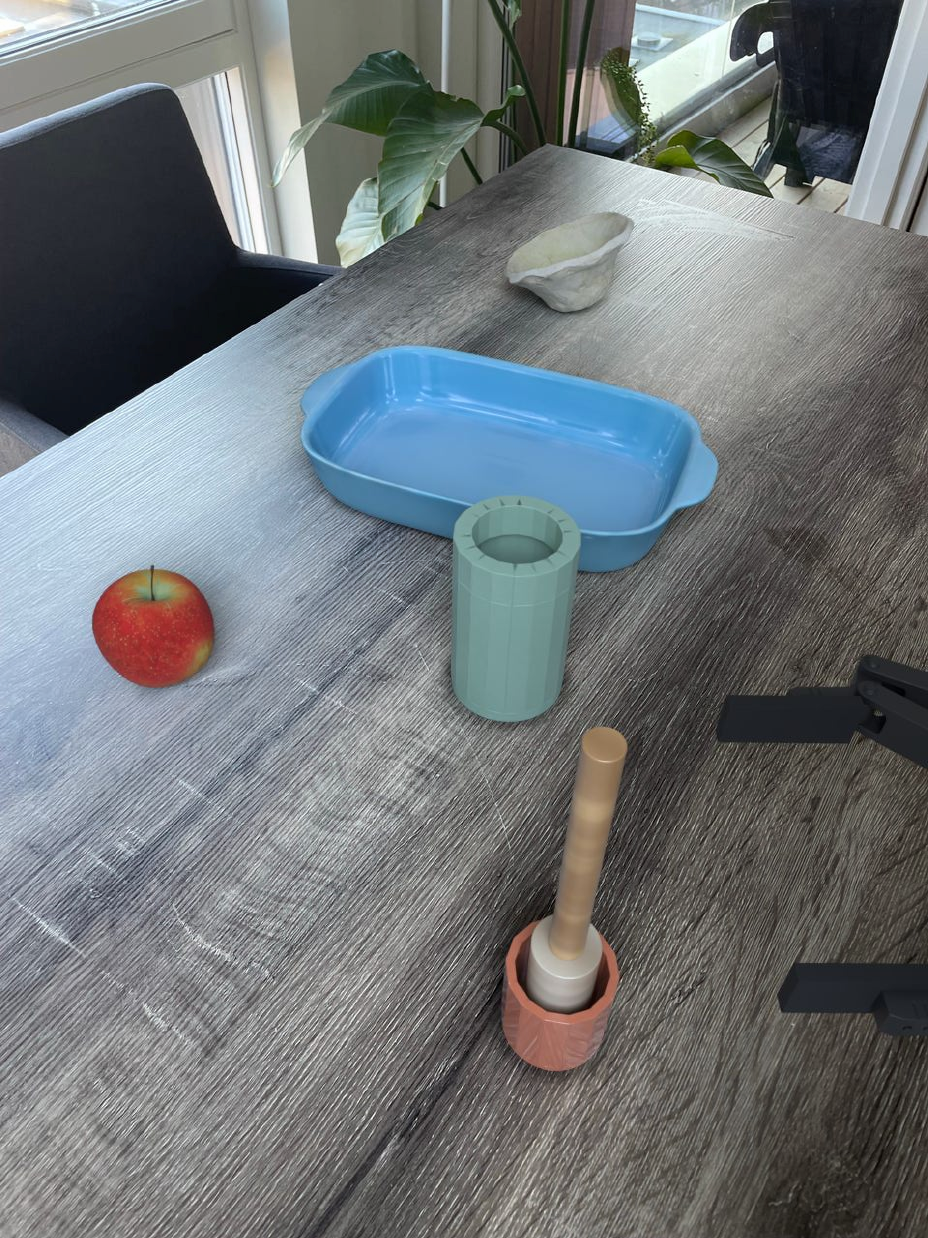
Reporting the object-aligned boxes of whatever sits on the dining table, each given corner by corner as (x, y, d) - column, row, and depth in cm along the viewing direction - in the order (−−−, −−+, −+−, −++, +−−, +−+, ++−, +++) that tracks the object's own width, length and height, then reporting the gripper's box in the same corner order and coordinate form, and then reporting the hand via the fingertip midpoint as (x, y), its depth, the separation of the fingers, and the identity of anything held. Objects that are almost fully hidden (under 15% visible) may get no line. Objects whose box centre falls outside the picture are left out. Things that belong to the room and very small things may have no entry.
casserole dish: (723, 469, 94) (739, 403, 89) (674, 624, 79) (690, 555, 74) (365, 389, 103) (361, 325, 98) (259, 515, 87) (248, 447, 82)
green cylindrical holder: (524, 740, 70) (538, 594, 60) (428, 689, 73) (427, 542, 64) (582, 670, 75) (604, 525, 65) (490, 625, 78) (498, 480, 68)
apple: (101, 650, 75) (67, 549, 68) (207, 621, 78) (185, 520, 71) (121, 726, 70) (87, 625, 63) (234, 692, 73) (213, 591, 66)
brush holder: (572, 1094, 53) (584, 1047, 49) (480, 1030, 55) (483, 980, 51) (624, 1006, 56) (639, 956, 52) (535, 950, 59) (542, 897, 55)
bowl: (524, 266, 124) (529, 183, 117) (635, 285, 121) (647, 202, 114) (485, 320, 114) (488, 233, 107) (605, 343, 110) (616, 255, 103)
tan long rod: (565, 1060, 54) (623, 797, 37) (508, 1022, 55) (540, 752, 38) (597, 1007, 56) (667, 735, 39) (542, 971, 57) (586, 695, 41)
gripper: (1356, 1182, 38) (798, 1179, 37) (1069, 687, 56) (689, 683, 55) (1505, 1108, 32) (856, 1104, 32) (1135, 588, 50) (715, 583, 50)
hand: (749, 838), depth 44 cm, fingers open, 13 cm apart
